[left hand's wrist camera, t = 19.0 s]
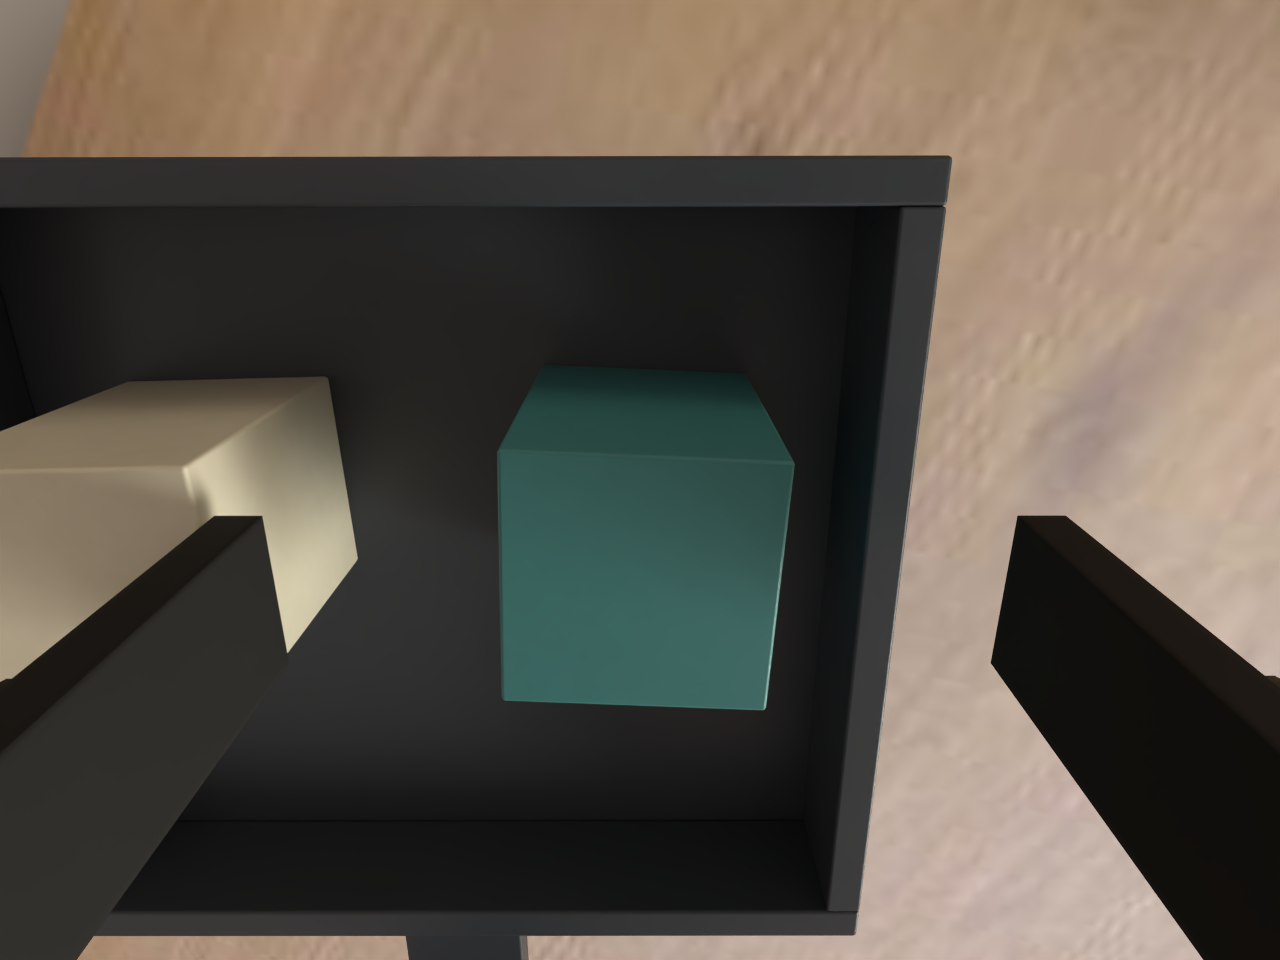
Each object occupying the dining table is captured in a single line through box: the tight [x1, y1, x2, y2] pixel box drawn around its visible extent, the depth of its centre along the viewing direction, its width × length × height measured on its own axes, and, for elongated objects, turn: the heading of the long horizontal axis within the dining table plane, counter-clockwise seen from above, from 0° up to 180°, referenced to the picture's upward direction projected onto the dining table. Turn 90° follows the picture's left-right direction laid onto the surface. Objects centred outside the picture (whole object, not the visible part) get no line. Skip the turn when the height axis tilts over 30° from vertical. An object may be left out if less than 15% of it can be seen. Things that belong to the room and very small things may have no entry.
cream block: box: [0, 377, 358, 682], centre depth 16 cm, size 4×4×6 cm
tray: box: [0, 156, 952, 960], centre depth 17 cm, size 26×20×8 cm
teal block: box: [497, 365, 795, 710], centre depth 16 cm, size 4×4×6 cm
